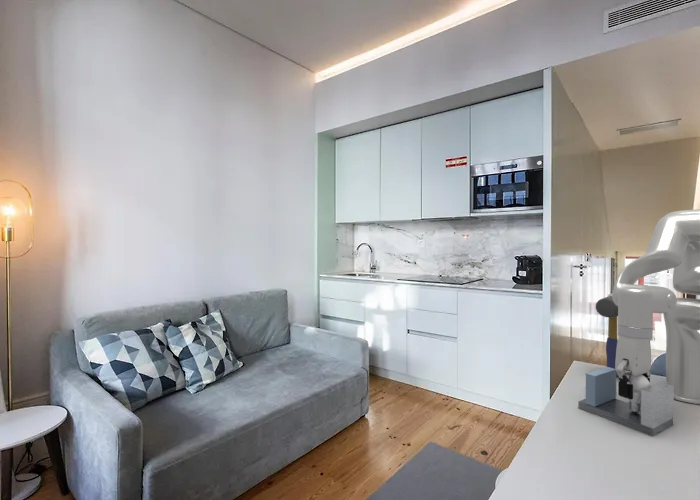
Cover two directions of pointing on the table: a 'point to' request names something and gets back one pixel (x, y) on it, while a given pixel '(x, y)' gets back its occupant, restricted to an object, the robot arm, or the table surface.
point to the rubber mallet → (609, 327)
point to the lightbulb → (637, 392)
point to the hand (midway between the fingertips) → (634, 393)
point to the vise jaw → (600, 386)
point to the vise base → (622, 415)
